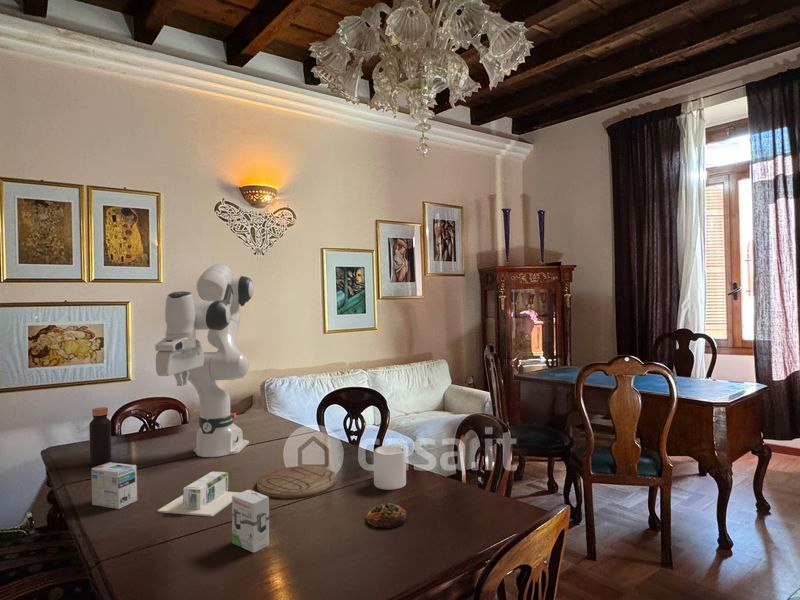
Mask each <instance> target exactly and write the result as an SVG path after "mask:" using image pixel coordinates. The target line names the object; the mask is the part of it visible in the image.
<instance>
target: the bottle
mask: <svg viewBox="0 0 800 600" xmlns="http://www.w3.org/2000/svg"><path fill="white" fill-rule="evenodd" d="M91 412H92V413H91V414H92V415H91V416H92V417H93V418H92V420H91V421H90V422H89V424H88V425H89V426H88V427H89V464H90V466H95V467H98V466H101V465H104V464H107V463H109V462H112V421H111V420H110V419H109V418H108V414H109V407H106V406H103V407H101V406H100V407H95V408H92V410H91Z"/></svg>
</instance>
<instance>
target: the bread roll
mask: <svg viewBox="0 0 800 600" xmlns="http://www.w3.org/2000/svg"><path fill="white" fill-rule="evenodd" d="M365 518H366V519H365V520H366V522H367V523H368V524H369V525H370V526H372V527H376V528H379V529H380V528H381V529H393V528H398V527H401V526H403V525H404V524H405V522H406V520H407V512H406V510H405V509H404V508H403V507H401V506H400V505H396V504H394V503H390V502H389V503H385V502H384V503H382V504H380V505H378V506H374V507H373V508H372V509H370V510H369V511H368V512H367V515H366V516H365Z"/></svg>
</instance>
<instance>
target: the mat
mask: <svg viewBox="0 0 800 600" xmlns="http://www.w3.org/2000/svg"><path fill="white" fill-rule="evenodd" d="M238 493H241V492H240V491H239V492H238V491H236V492H235V491H226V492H225V493H223V494H222V495H220V496H219V497H217V498H216V499H214V500H213V501H211V502H210V503H208V504H207V505H206V506H204V507H203V508H201V509H193V508H184V507H183V494H182V495H180V496H179V497H177V498H175V499H174V500H172V501H171V502H169V503H167V504H165V505H164V506H162V507H161V508H159V509H157V512H158V513H165V514H176V515H177V514H179V515H187V516H189V515H191V516H201V517H214V516H215V515H216V514H218V513H219V512H221V511H222V510H223V509H224V508H226V507H227V506H229V505H230V504H232V496H233V495H236V494H238Z"/></svg>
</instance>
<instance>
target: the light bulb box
mask: <svg viewBox="0 0 800 600" xmlns="http://www.w3.org/2000/svg"><path fill="white" fill-rule="evenodd" d="M137 481H138V479H137V465H136V464H125V463H117V462H112V461H111V462H109V463H107V464H104V465H98V466H95V467H92V468H91V505H92V506H99V507H105V508H110V509H115V510H116V509H117V510H120V509H121V508H125V507H126V506H128V505H130V504H132V503H135V502H137V501H138V486H137V485H138V482H137Z"/></svg>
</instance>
